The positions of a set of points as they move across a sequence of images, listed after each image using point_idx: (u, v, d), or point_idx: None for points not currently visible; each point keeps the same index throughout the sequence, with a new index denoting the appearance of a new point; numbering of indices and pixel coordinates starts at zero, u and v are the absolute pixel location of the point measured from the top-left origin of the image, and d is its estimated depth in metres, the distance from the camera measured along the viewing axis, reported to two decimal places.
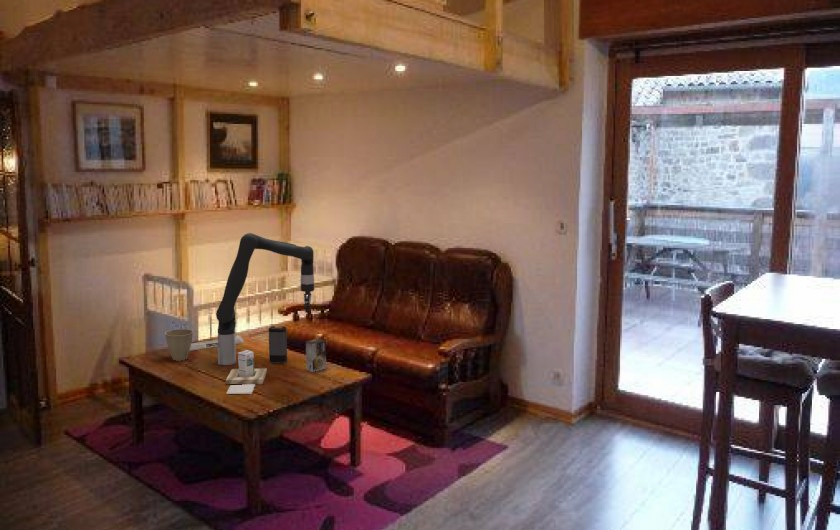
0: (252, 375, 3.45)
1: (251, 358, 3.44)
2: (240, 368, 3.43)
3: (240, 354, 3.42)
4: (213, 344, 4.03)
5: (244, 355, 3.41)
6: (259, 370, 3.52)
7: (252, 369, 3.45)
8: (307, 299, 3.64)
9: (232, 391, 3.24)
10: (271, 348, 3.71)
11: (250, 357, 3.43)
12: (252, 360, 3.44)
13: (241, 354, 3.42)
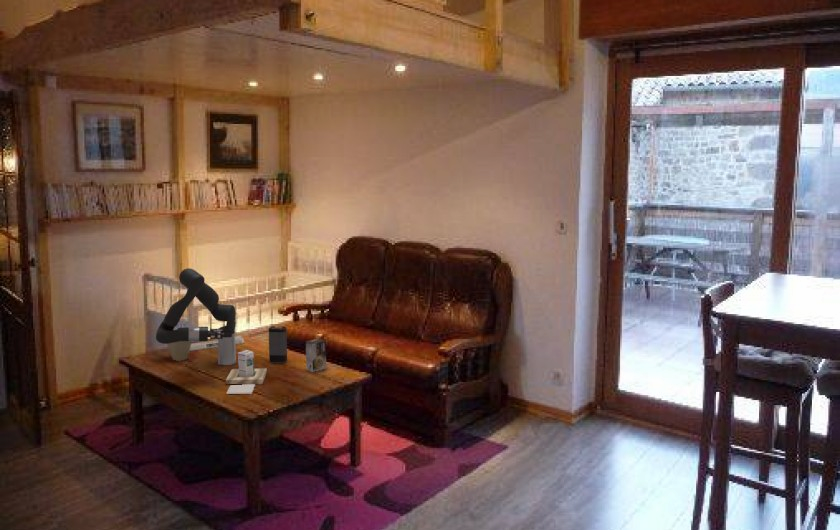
0: (252, 375, 3.45)
1: (251, 358, 3.43)
2: (240, 368, 3.43)
3: (240, 354, 3.42)
4: (213, 344, 4.02)
5: (244, 355, 3.40)
6: (259, 370, 3.52)
7: (252, 369, 3.45)
8: None
9: (232, 391, 3.24)
10: (271, 348, 3.71)
11: (250, 357, 3.43)
12: (252, 360, 3.44)
13: (241, 354, 3.42)
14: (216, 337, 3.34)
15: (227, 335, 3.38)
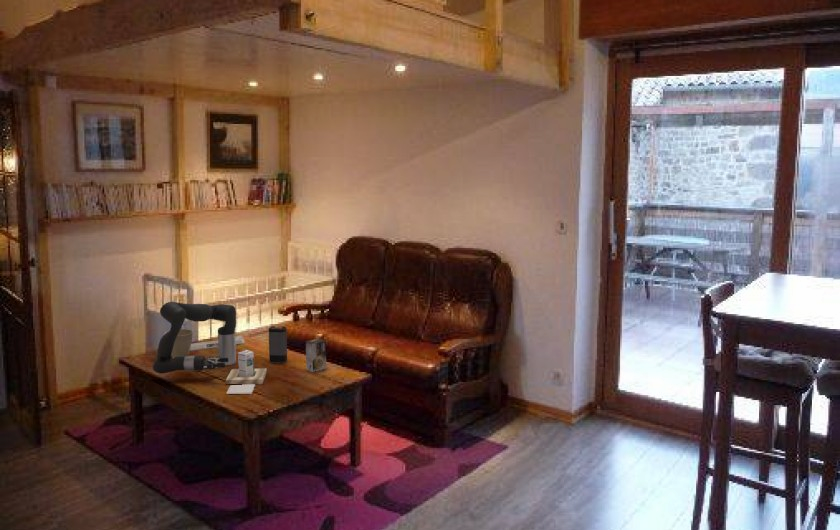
0: (252, 375, 3.45)
1: (251, 358, 3.44)
2: (240, 368, 3.43)
3: (240, 354, 3.42)
4: (214, 344, 4.02)
5: (244, 355, 3.41)
6: (259, 370, 3.52)
7: (252, 369, 3.45)
8: None
9: (232, 391, 3.24)
10: (271, 348, 3.71)
11: (250, 357, 3.43)
12: (252, 360, 3.44)
13: (241, 354, 3.42)
14: (208, 367, 3.36)
15: (220, 365, 3.38)
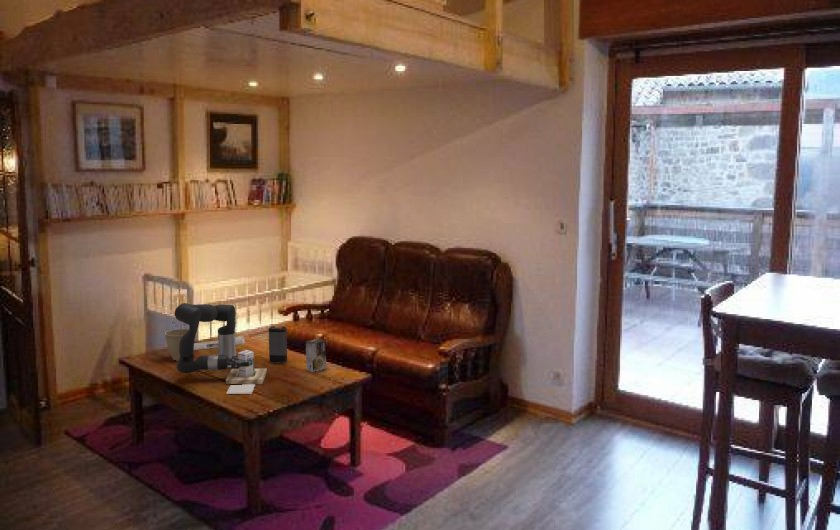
0: (252, 375, 3.45)
1: (251, 358, 3.43)
2: (240, 368, 3.43)
3: (240, 354, 3.42)
4: (214, 345, 4.02)
5: (244, 355, 3.40)
6: (259, 370, 3.52)
7: (252, 369, 3.45)
8: None
9: (232, 391, 3.24)
10: (271, 348, 3.71)
11: (250, 357, 3.43)
12: (252, 360, 3.44)
13: (241, 354, 3.42)
14: (233, 367, 3.37)
15: (244, 364, 3.39)
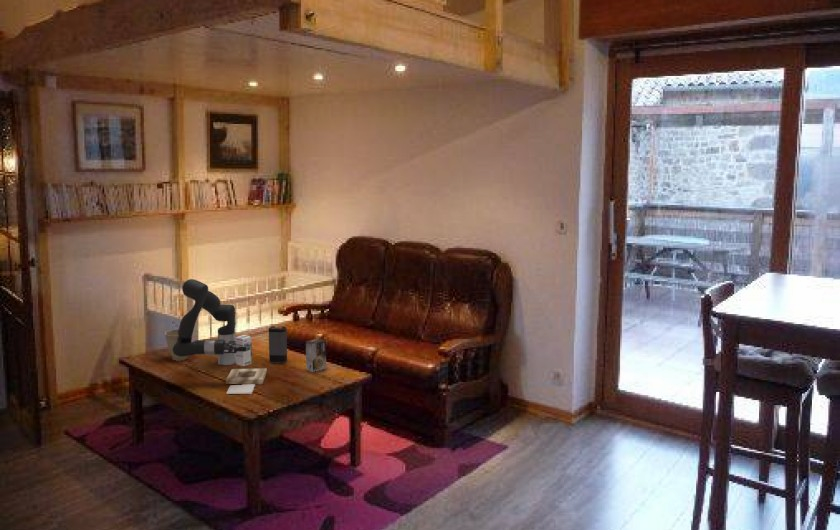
0: (249, 360, 3.38)
1: (249, 342, 3.37)
2: (237, 353, 3.37)
3: (237, 339, 3.35)
4: None
5: (241, 340, 3.34)
6: (259, 370, 3.52)
7: (249, 354, 3.38)
8: None
9: (232, 391, 3.24)
10: (271, 348, 3.71)
11: (247, 341, 3.36)
12: (250, 345, 3.38)
13: (238, 339, 3.35)
14: (230, 351, 3.31)
15: (241, 349, 3.33)
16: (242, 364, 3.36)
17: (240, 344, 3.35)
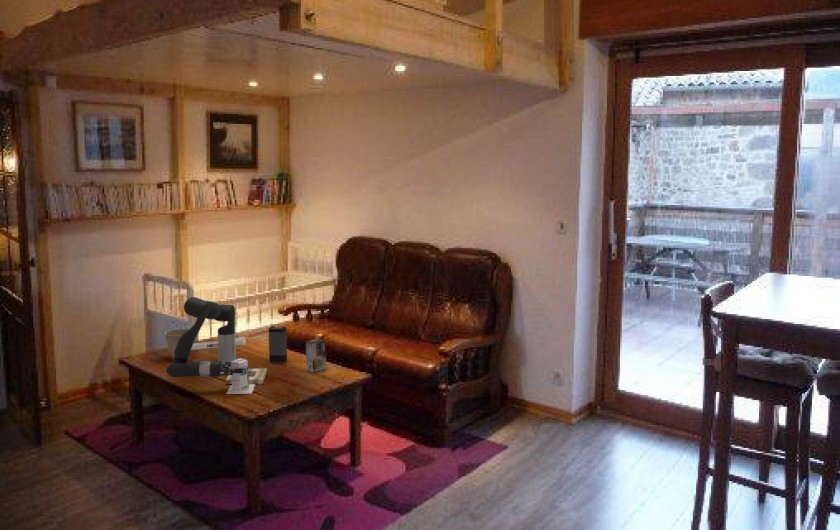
0: (246, 385, 3.27)
1: (245, 366, 3.26)
2: (233, 377, 3.26)
3: (233, 363, 3.24)
4: (214, 345, 4.01)
5: (237, 364, 3.23)
6: (259, 370, 3.52)
7: (246, 378, 3.27)
8: None
9: (232, 391, 3.24)
10: (271, 348, 3.71)
11: (244, 365, 3.25)
12: (246, 369, 3.26)
13: (234, 363, 3.24)
14: (225, 373, 3.19)
15: (237, 371, 3.21)
16: (239, 388, 3.25)
17: (236, 368, 3.24)
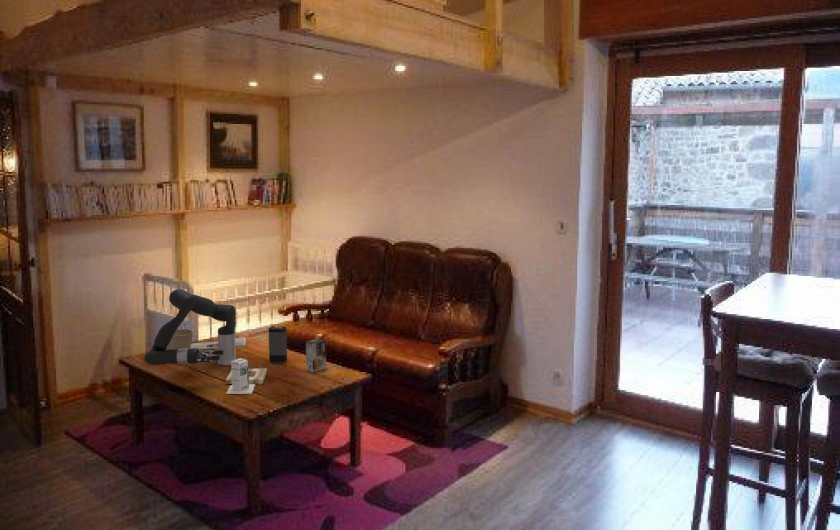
0: (246, 385, 3.27)
1: (245, 366, 3.26)
2: (233, 377, 3.26)
3: (233, 363, 3.24)
4: (214, 345, 4.01)
5: (238, 364, 3.23)
6: (259, 370, 3.52)
7: (246, 378, 3.27)
8: None
9: (232, 391, 3.24)
10: (271, 348, 3.71)
11: (244, 365, 3.25)
12: (246, 369, 3.26)
13: (234, 363, 3.24)
14: (202, 360, 3.23)
15: (214, 358, 3.26)
16: (239, 388, 3.25)
17: (236, 368, 3.24)
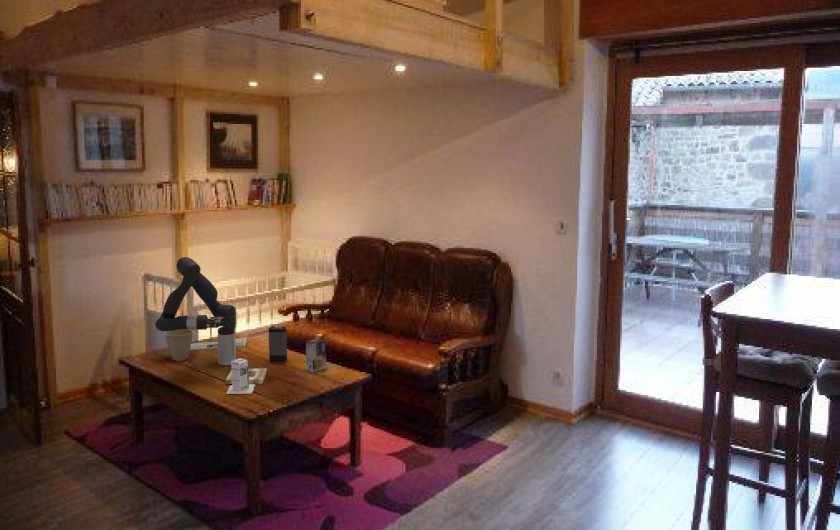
0: (246, 385, 3.27)
1: (245, 366, 3.26)
2: (233, 377, 3.26)
3: (233, 363, 3.24)
4: (214, 345, 4.00)
5: (238, 364, 3.23)
6: (259, 370, 3.52)
7: (246, 378, 3.27)
8: None
9: (232, 391, 3.24)
10: (271, 348, 3.71)
11: (244, 365, 3.25)
12: (246, 369, 3.26)
13: (234, 363, 3.24)
14: (211, 326, 3.35)
15: (223, 324, 3.37)
16: (239, 388, 3.25)
17: (236, 368, 3.24)
